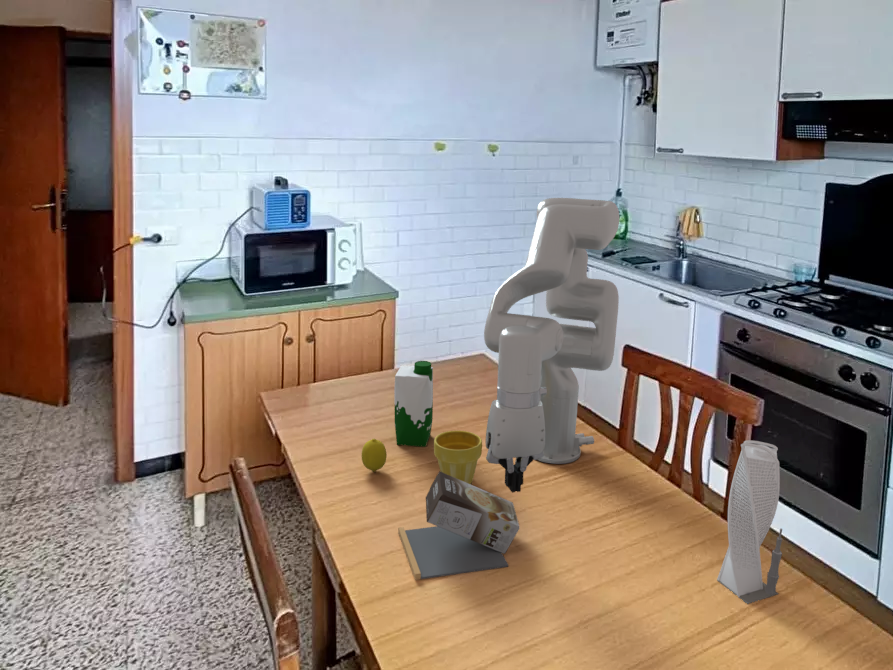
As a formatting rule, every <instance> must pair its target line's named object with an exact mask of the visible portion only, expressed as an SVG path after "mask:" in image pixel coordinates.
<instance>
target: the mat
mask: <svg viewBox="0 0 893 670" xmlns="http://www.w3.org/2000/svg"><path fill="white" fill-rule="evenodd" d="M397 529H398V532H397V533H398V536H399V540H400V541H401V546H402V547H403V550H404V553H405V556H406V559H407V561H408V562H407V563H409V566H410V570H411V572H412V576H413V578H414V581H417V580H418V581H419V580H425V579H432V578H439V577H446V576H451V575H452V576H453V575H458V574H459V575H460V574H467V573H474V572H475V573H476V572H480V571H481V572H482V571H488V570H494V569H501V568H508V567H509V564H508V561H507V559H506V558H505V556H504V553H501V552H499V551H496V550H494V549H491V548H489V547H487V546H484V545H482V544H479V543H477V542H475V541H472V540H470V539H467V538H465V537H462V536H460V535H458V534H455V533H453V532H450V531H448V530H446V529H443V528H441V527H438V526H436V525H434V526H428V527H423V528H422V527H421V528H413V529H405V527H404V526H399V527H397Z"/></svg>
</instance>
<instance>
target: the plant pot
mask: <svg viewBox="0 0 893 670" xmlns="http://www.w3.org/2000/svg"><path fill="white" fill-rule="evenodd" d="M482 452H483V440H482V437H480V436H479V435H478V434H476V433H474V432H471V431H466V430H448V431H443V432H440V433H439V434H437V435H436V436H435V437H434V439H433V454H434V457H435V458H436V459H437V462H438V467H439V471H440V472H443V473H445V474H447V475H450V476H452V477H454V478H457V479H459V480H461V481H464V482H466V483H468V484H471V485H472V483H473V480H474V476H475V473H476V469H477V464H478V460H479V459H480V458H481V457H482Z"/></svg>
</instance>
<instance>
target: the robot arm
mask: <svg viewBox="0 0 893 670" xmlns="http://www.w3.org/2000/svg"><path fill="white" fill-rule="evenodd" d="M619 226H620V211H619V208H618V206H617V204H616V203H615V202H614V201H611V200H602V199H586V198H585V199H584V198H575V197H573V198H571V197H551V198H546V199H543V200H540V202H539V203H538V205H537V209H536V223H535V226H534V230H533V234H532V238H531V241H530V245H529V249H528V253H527V257H526V261H525V264H524V266H523V267H522V268H520V269H519V270H517V271H515V273H513V274H511V275H510V276H509V277H507V279H506V280H505V281H504V282H503V283H502V284H501V285H500V286H499V287H498V289H497V290H496V291H495V293H494V295H493V297H492V300H491V302H490V307H489V309H488V312H487V318H486V321H485V325H484V330H483V333H484V334H483V340H484V344H485V346H486V347H487V349H489V350H490V351H491V352H494V353H497V354H498V359H497V360H498V361H497V362H498V363H497V385H496V386H497V387H496V388H497V389H496V399H494V400H492V402H491V405H490V408H489V413H488V418H487V425H486V430H485V443H484V444H485V448H486V449H487V453H486V457H485V459H486V461H487V462H488V463H489V464H494V465H500V466H501V467H503V469H504V484H505V486H506V487H507V488H508V490H510V492H511V493H516V492H517V493H521V489H522V486H523V484H524V472H526V471H527V468H528V466H530V464H531V463H532V462H533V461H539V462H542V463H546V464H553V465H554V464H555V465H561V464H562V465H563V464H564V465H565V464H569V463H572V462H575V461H577V460H578V459H579V458H580V456H581V447H582V446H583V445H585V446H587V445H594V443H595V438H594V436H593V435H590V436H587V435H586V436H585V433H583V432H581V433H576V429H577V416H578V406H579V405H578V403H579V389H580V386H579V385H580V384H579V381H578V378H577V376H576V374H575V372H574V371H573V369H578V370H588V371H598V372H602V371H606V370H608V369H609V368H610V367H611V365H612V363H613V360H614V355H615V347H616V336H617V335H616V334H617V328H618V327H617V325H618V315H619V299H620V297H619V290H618V287H617V285H616V283H614V282H612V281H611V280H607V279H601V278H589V277H588V274H587V273H588V262H589V255H588V252H587V250H594V251H601V250H604V249H606V247H608V246H609V244H610V243H611V242H612V241H613V240H614V238H615V236H616V234H617V232H618V229H619ZM544 292H546V294H545V295H546V296H545V307H546V311H547V313H548V314H549V315H551V316H553V317H555V318H559V319H566V320H572V321H582V322H590V323H593V325H594V327H591V326H579V325H576V324H567V323H566V324H565V323H559V321H557V320H555V319H554V318H549V317H543V316H533V315H528V314H527V315H526V314H518V313H510V312H509V311H510V309H511V308H512V307H513V306H514V305H516V303H517V302H519V301H521V300H523V299H525V298H528V297H531V296H535V295H537V294H541V293H544ZM514 459H515V461H514Z"/></svg>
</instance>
